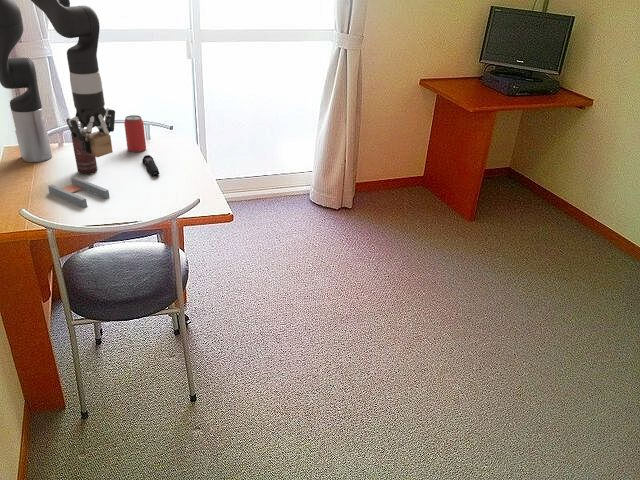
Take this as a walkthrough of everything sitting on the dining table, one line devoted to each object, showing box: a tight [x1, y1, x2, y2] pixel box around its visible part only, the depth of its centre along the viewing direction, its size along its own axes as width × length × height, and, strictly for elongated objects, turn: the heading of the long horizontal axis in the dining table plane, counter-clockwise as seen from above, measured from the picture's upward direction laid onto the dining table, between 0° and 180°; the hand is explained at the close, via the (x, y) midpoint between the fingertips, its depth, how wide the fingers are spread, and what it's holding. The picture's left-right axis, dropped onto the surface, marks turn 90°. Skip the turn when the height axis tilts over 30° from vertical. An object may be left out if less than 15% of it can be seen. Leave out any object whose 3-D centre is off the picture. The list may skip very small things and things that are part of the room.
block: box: [89, 130, 113, 158], centre depth 149 cm, size 5×5×5 cm
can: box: [70, 132, 98, 176], centre depth 176 cm, size 6×6×14 cm
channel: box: [47, 176, 110, 209], centre depth 163 cm, size 16×9×2 cm, turn 58°
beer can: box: [123, 114, 147, 153], centre depth 196 cm, size 7×7×12 cm
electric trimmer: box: [142, 154, 160, 177], centre depth 184 cm, size 4×16×3 cm, turn 26°
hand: (96, 150), depth 150 cm, fingers closed on block, 5 cm apart
